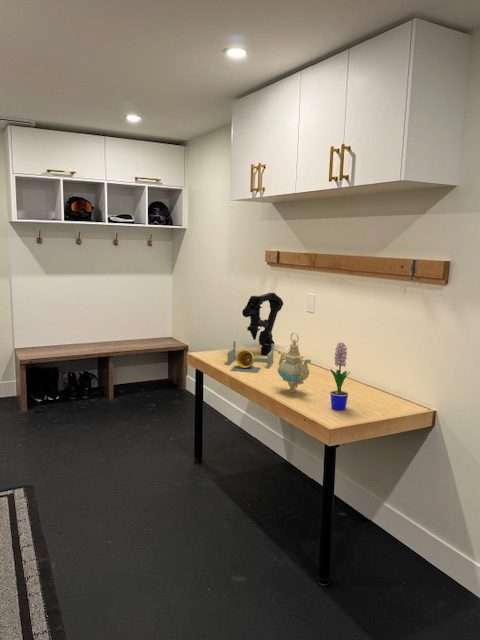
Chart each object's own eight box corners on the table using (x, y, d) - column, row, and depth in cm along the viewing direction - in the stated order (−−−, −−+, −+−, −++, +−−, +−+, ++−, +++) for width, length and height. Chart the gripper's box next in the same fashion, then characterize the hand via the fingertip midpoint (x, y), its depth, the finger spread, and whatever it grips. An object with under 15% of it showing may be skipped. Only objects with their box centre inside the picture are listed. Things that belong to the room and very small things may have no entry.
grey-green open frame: (233, 359, 313) (233, 341, 311) (273, 362, 307) (273, 343, 305) (227, 365, 298) (227, 345, 296) (269, 368, 293) (269, 348, 291)
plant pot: (236, 359, 300) (232, 358, 291) (249, 347, 299) (245, 346, 290) (247, 372, 298) (243, 371, 288) (260, 360, 297) (256, 359, 287)
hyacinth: (328, 411, 218) (331, 344, 214) (328, 404, 228) (331, 340, 224) (348, 413, 216) (352, 345, 212) (347, 405, 226) (351, 341, 222)
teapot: (317, 396, 239) (320, 335, 235) (298, 400, 233) (300, 337, 229) (287, 384, 259) (289, 328, 255) (269, 387, 253) (271, 329, 249)
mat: (234, 366, 297) (234, 365, 297) (261, 368, 293) (261, 367, 293) (230, 370, 285) (230, 370, 285) (257, 373, 282) (257, 372, 282)
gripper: (265, 318, 304) (264, 343, 306) (270, 314, 322) (269, 338, 324) (247, 317, 307) (246, 342, 309) (253, 313, 325) (252, 337, 327)
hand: (254, 339), depth 317 cm, fingers closed
